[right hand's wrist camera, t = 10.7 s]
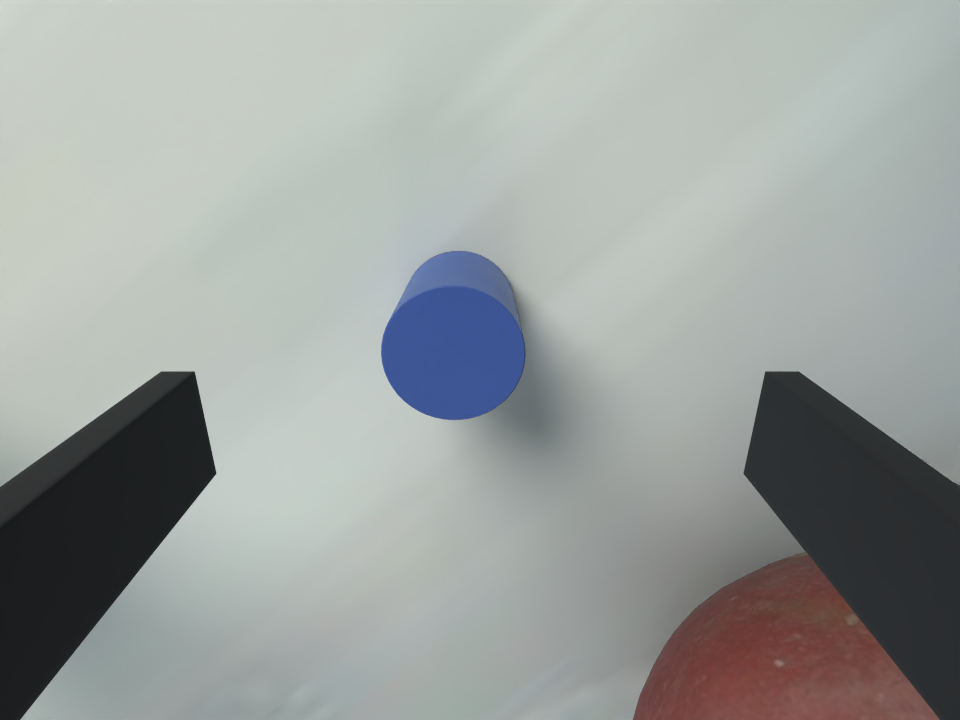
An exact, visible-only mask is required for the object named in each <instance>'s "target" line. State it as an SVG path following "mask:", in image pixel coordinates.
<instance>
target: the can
mask: <svg viewBox="0 0 960 720" xmlns="http://www.w3.org/2000/svg"><path fill="white" fill-rule="evenodd" d="M381 356H382V364H383V368H384V371H385V374H386V376H387V379H388V381H389V383H390V384H391V386H392V388H393V389H394V390H395V392H396V393H397V394H398V395H399V396H400V397H401V398H402V399H403V400H404V401H405V402H406V403H407V404H409V405H410V406H411V407H413V408H414V409H416V410H418V411H420V412H422V413H424V414H426V415H429V416H432V417H435V418H440V419H447V420H463V419H469V418H473V417H477V416H480V415H482V414H485V413H487V412H489V411H491V410H493V409H494V408H496V407H497V406H499V405H500V404H501V403H502V402H504V401H505V400H506V399H507V398H508V397H509V395H510V394H511V393H512V392H513V390H514V389H515V387H516V386H517V384H518V382H519V380H520V378H521V375H522V372H523V368H524V363H525V344H524V338H523V334H522V330H521V326H520V321H519V317H518V313H517V308H516V304H515V300H514V296H513V292H512V288H511V286H510V283H509V281H508V279H507V278H506V276H505V275H504V273H503V272H502V271H501V270H500V268H498V267H497V266H496V265H495V264H494V263H493V262H491V261H490V260H488V259H487V258H485V257H483V256H481V255H478V254H475V253H471V252H465V251H452V252H446V253H443V254H440V255H437V256H435V257H433V258H431V259H429V260H428V261H426V262H425V263H424V264H423V265H421V266H420V267H419V268H418V270H417V271H416V272H415V273H414V275H413V276H412V278H411V280H410V282H409V283H408V285H407V287H406V289H405V291H404V293H403V295H402V297H401V299H400V301H399V303H398V305H397V307H396V309H395V311H394V312H393V314H392V316H391V318H390V320H389V322H388V324H387V326H386V329H385V332H384V335H383V339H382V346H381Z"/></svg>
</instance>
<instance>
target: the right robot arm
mask: <svg viewBox="0 0 960 720" xmlns="http://www.w3.org/2000/svg"><path fill="white" fill-rule="evenodd" d="M215 475H216V470H215V465H214V460H213V456H212V451H211V446H210V441H209V437H208V432H207V427H206V423H205V418H204V413H203V409H202V404H201V399H200V395H199V390H198V385H197V380H196V376H195V372H160V373H159V374H157V375H156V376H155V377H153V378H152V379H150V380H149V381H148V382H146V383H145V384H143V385H142V386H141V387H139V388H138V389H136V390H135V391H134V392H132V393H131V394H129V395H128V396H127V397H125V398H124V399H122V400H121V401H120V402H118V403H117V404H116V405H114V406H113V407H111V408H110V409H109V410H107V411H106V412H104V413H103V414H102V415H100V416H99V417H97V418H96V419H95V420H93V421H92V422H90V423H89V424H88V425H86V426H85V427H83V428H82V429H81V430H79V431H78V432H76V433H75V434H74V435H72V436H71V437H70V438H68V439H67V440H65V441H64V442H63V443H61V444H60V445H58V446H57V447H56V448H54V449H53V450H51V451H50V452H49V453H47V454H46V455H44V456H43V457H42V458H40V459H39V460H37V461H36V462H35V463H33V464H32V465H30V466H29V467H28V468H26V469H25V470H24V471H22V472H21V473H19V474H18V475H17V476H15V477H14V478H12V479H11V480H10V481H8V482H7V483H5V484H4V485H3V486H1V487H0V720H20V719H21V718H22V717H23V715H24V714H25V713H26V712H27V710H28V709H29V708H30V707H31V705H32V704H33V703H34V702H35V700H36V699H37V698H38V697H39V695H40V694H41V693H42V692H43V690H44V689H45V688H46V687H47V685H48V684H49V683H50V681H51V680H52V679H53V678H54V676H55V675H56V674H57V673H58V671H59V670H60V669H61V668H62V666H63V665H64V664H65V663H66V661H67V660H68V659H69V658H70V656H71V655H72V654H73V653H74V651H75V650H76V649H77V648H78V646H79V645H80V644H81V643H82V641H83V640H84V639H85V638H86V636H87V635H88V634H89V633H90V631H91V630H92V629H93V628H94V626H95V625H96V624H97V623H98V621H99V620H100V619H101V618H102V616H103V615H104V614H105V613H106V611H107V610H108V609H109V608H110V606H111V605H112V604H113V603H114V601H115V600H116V599H117V597H118V596H119V595H120V594H121V592H122V591H123V590H124V589H125V587H126V586H127V585H128V584H129V582H130V581H131V580H132V579H133V577H134V576H135V575H136V574H137V572H138V571H139V570H140V569H141V567H142V566H143V565H144V564H145V562H146V561H147V560H148V559H149V557H150V556H151V555H152V554H153V552H154V551H155V550H156V549H157V547H158V546H159V545H160V544H161V542H162V541H163V540H164V539H165V537H166V536H167V535H168V534H169V532H170V531H171V530H172V529H173V527H174V526H175V525H176V524H177V522H178V521H179V520H180V518H181V517H182V516H183V515H184V513H185V512H186V511H187V510H188V508H189V507H190V506H191V505H192V503H193V502H194V501H195V500H196V498H197V497H198V496H199V495H200V493H201V492H202V491H203V490H204V488H205V487H206V486H207V485H208V483H209V482H210V481H211V480H212V478H213V477H214V476H215ZM744 475H745V476H746V477H747V478H748V480H749V481H750V482H751V483H752V485H753V486H754V487H755V488H756V490H757V491H758V492H759V493H760V495H761V496H762V497H763V498H764V500H765V501H766V502H767V503H768V505H769V506H770V507H771V508H772V510H773V511H774V512H775V513H776V515H777V516H778V517H779V519H780V520H781V521H782V522H783V524H784V525H785V526H786V527H787V529H788V530H789V531H790V532H791V534H792V535H793V536H794V537H795V539H796V540H797V541H798V542H799V544H800V545H801V546H802V547H803V549H804V550H805V551H806V552H807V554H808V555H809V556H810V557H811V559H812V560H813V561H814V562H815V564H816V565H817V566H818V567H819V569H820V570H821V571H822V572H823V574H824V575H825V576H826V577H827V579H828V580H829V581H830V582H831V584H832V585H833V586H834V587H835V589H836V590H837V591H838V592H839V594H840V595H841V596H842V597H843V599H844V600H845V601H846V603H847V604H848V605H849V606H850V608H851V609H852V610H853V611H854V613H855V614H856V615H857V616H858V618H859V619H860V620H861V621H862V623H863V624H864V625H865V626H866V628H867V629H868V630H869V631H870V633H871V634H872V635H873V636H874V638H875V639H876V640H877V641H878V643H879V644H880V645H881V646H882V648H883V649H884V650H885V651H886V653H887V654H888V655H889V656H890V658H891V659H892V660H893V661H894V663H895V664H896V665H897V666H898V668H899V669H900V670H901V671H902V673H903V674H904V675H905V676H906V678H907V679H908V680H909V681H910V683H911V684H912V685H913V687H914V688H915V689H916V690H917V692H918V693H919V694H920V695H921V697H922V698H923V699H924V700H925V702H926V703H927V704H928V705H929V707H930V708H931V709H932V710H933V712H934V713H935V714H936V715H937V717H938V718H939V719H940V720H960V485H958V484H956V483H954V482H952V481H950V480H949V479H948V478H946V477H945V476H943V475H942V474H941V473H939V472H938V471H936V470H935V469H934V468H932V467H931V466H930V465H928V464H927V463H925V462H924V461H923V460H921V459H920V458H918V457H917V456H916V455H914V454H913V453H911V452H910V451H909V450H907V449H906V448H904V447H903V446H902V445H900V444H899V443H897V442H896V441H895V440H893V439H892V438H890V437H889V436H888V435H886V434H885V433H884V432H882V431H881V430H879V429H878V428H877V427H875V426H874V425H872V424H871V423H870V422H868V421H867V420H865V419H864V418H863V417H861V416H860V415H858V414H857V413H856V412H854V411H853V410H851V409H850V408H849V407H847V406H846V405H844V404H843V403H842V402H840V401H839V400H838V399H836V398H835V397H833V396H832V395H831V394H829V393H828V392H826V391H825V390H824V389H822V388H821V387H819V386H818V385H817V384H815V383H814V382H812V381H811V380H810V379H808V378H807V377H805V376H804V375H803V374H801V373H800V372H765V376H764V380H763V385H762V390H761V395H760V399H759V404H758V409H757V413H756V418H755V423H754V427H753V432H752V437H751V441H750V446H749V451H748V456H747V460H746V465H745V470H744Z"/></svg>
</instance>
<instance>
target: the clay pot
mask: <svg viewBox="0 0 960 720" xmlns="http://www.w3.org/2000/svg"><path fill="white" fill-rule="evenodd" d="M633 720H940V719H939V718H938V717H937V715H936V714H935V713H934V712H933V710H932V709H931V708H930V707H929V705H928V704H927V703H926V702H925V700H924V699H923V698H922V697H921V695H920V694H919V693H918V692H917V690H916V689H915V688H914V687H913V685H912V684H911V683H910V681H909V680H908V679H907V678H906V676H905V675H904V674H903V673H902V671H901V670H900V669H899V668H898V666H897V665H896V664H895V663H894V661H893V660H892V659H891V658H890V656H889V655H888V654H887V653H886V651H885V650H884V649H883V648H882V646H881V645H880V644H879V643H878V641H877V640H876V639H875V638H874V636H873V635H872V634H871V633H870V631H869V630H868V629H867V628H866V626H865V625H864V624H863V623H862V621H861V620H860V619H859V618H858V616H857V615H856V614H855V613H854V611H853V610H852V609H851V608H850V606H849V605H848V604H847V603H846V601H845V600H844V599H843V597H842V596H841V595H840V594H839V592H838V591H837V590H836V589H835V587H834V586H833V585H832V584H831V582H830V581H829V580H828V579H827V577H826V576H825V575H824V574H823V572H822V571H821V570H820V569H819V567H818V566H817V565H816V564H815V562H814V561H813V560H812V559H811V557H810V556H809V555H808V554H807V552H806V553H801V554H797V555H794V556H791V557H788V558H785V559H783V560H780V561H777V562H774V563H771V564H769V565H767V566H765V567H763V568H761V569H759V570H757V571H755V572H753V573H751V574H749V575H747V576H745V577H743V578H741V579H739V580H737V581H735V582H733V583H731V584H729V585H727V586H725V587H723V588H722V589H720V590H719V591H718V592H716V593H715V594H714V595H712V596H711V597H710V598H709V599H707V600H706V601H705V602H703V603H702V604H701V605H699V606H698V607H697V608H696V609H695V610H694V611H693V612H692V613H691V614H690V615H689V616H688V617H687V618H686V619H685V620H684V621H683V622H682V623H681V625H680V626H679V627H678V628H677V629H676V631H675V632H674V633H673V635H672V636H671V637H670V639H669V640H668V642H667V643H666V645H665V646H664V648H663V650H662V651H661V653H660V655H659V657H658V658H657V660H656V662H655V664H654V665H653V668H652V670H651V672H650V674H649V676H648V679H647V681H646V683H645V685H644V687H643V690H642V692H641V694H640V697H639V700H638V704H637V707H636V711H635V715H634V718H633Z"/></svg>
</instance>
